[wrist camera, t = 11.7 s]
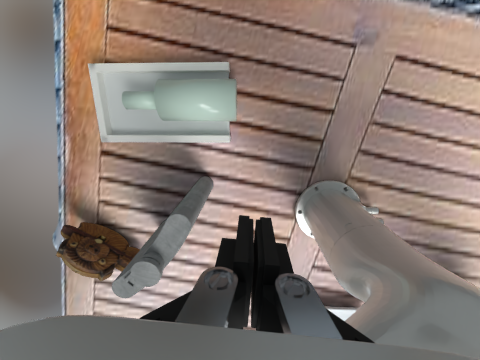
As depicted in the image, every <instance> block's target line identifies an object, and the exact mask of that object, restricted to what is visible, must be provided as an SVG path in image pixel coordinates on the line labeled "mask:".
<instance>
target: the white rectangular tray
mask: <svg viewBox="0 0 480 360" xmlns="http://www.w3.org/2000/svg"><path fill="white" fill-rule="evenodd" d="M88 67H89V73H90V79H91V84H92V90H93V96H94V102H95V108H96V113H97V119H98V125H99V131H100V137H101V142H216V143H230V142H231V135H230V121H163V120H162V119H161V118H160V117H159V115H158V113H157V110H132V109H126V108H125V107H124V105H123V103H122V93H123V92H124V91H154V89H155V84H156V81H157V80H158V79H229V73H230V64H229V62H183V63H98V64H88Z"/></svg>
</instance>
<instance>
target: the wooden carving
mask: <svg viewBox="0 0 480 360" xmlns="http://www.w3.org/2000/svg"><path fill="white" fill-rule="evenodd" d="M61 235H62V236H63V237H64V238H66V240H64V241H63V242H62V243H61V244H60V247H59V250H58V252H57V254H56V256H57V257H61V258H62V260H63V261H64V263H65V264H66V265H67V266H68V267H69V268H70V269H71V270H72V271H74V272H75V273H78V274H80V275H82V276H86V277H91V278H98V279H99V280H100V281H103V280H105V279H107V278H109V277H110V276H111V275H112V273H113V270H114V268H117V269H118V270H120V271H123V270H124V269H125V268H126V266H127V265H128V264H129V263H130V261H131V260H132V259H133V258H134V257H135V255H136V254H137V253H138V252H139V251H140V250H139V249H138V248H134V247H129V243H128V242H127V240H126V239H125V238H124V237H123V236H121V235H120V234H119V233H117V232H115V231H114V230H112V229H109V228H107V227H104V226H101V225H98V224H93V223H86V222H82V223H80V226H79V227H78V228H76V227H73V226H70V225H64V226H63V228H62V230H61Z"/></svg>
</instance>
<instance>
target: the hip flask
mask: <svg viewBox="0 0 480 360" xmlns="http://www.w3.org/2000/svg"><path fill="white" fill-rule="evenodd" d="M212 188H213V181H212V179H211V178H209V177H205V176H204V177H201V178H200V179H199V180H198V181H197V183H196V184H195V185H194V186H193V187H192V189H191V190H190V191H189V192H188V194H187V195H186V196H185V197H184V199H183V200H182V201H181V202H180V204H179V205H178V206H177V207H176V208H175V210H174V211H173V212H172V213H171V215H170V216H169V217H168V218H167V219H166V220H165V221H164V222H163V223H162V224H161V225H160V226H159V227H158V229H157V230H156V231H155V232H154V234H153V235H152V236H151V237H150V238H149V240H148V241H147V242H146V243H145V244H144V246H143V247H142V248H141V249H140V251H139V252H138V253H137V254H136V255H135V257H134V258H133V259H132V260H131V261H130V263H129V264H128V265H127V266H126V268H125V269H124V270H123V271H122V272H121V274H120V275H119V276H118V277H117V278H116V280H115V281H114V282H113V284H112V290H113V292H114V293H115V294H116V295H117V296H119V297H121V298H129V297H132V296H133V295H134V294H136V293H137V292H139V291H140V290H141V289H143V288H144V287H145V286H146V287H150V286H153V285H155V284H157V283H158V282H159V280H160V278H161V276H162V271H163V270H164V268H165V267H166V266H167V264H168V263H169V262H170V261H171V260H172V258H173V257H174V256H175V255H176V253H177V252H178V250H179V249H180V248H181V246H182V245H183V243H184V241H185V240H186V238H187V236H188V234H189V232H190V231H191V229H192V227H193V225H194V223H195V221H196V219H197V217H198V215H199V213H200V211H201V209H202V208H203V206H204V204H205V202H206V200H207V198H208V196H209V194H210V192H211V190H212Z"/></svg>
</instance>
